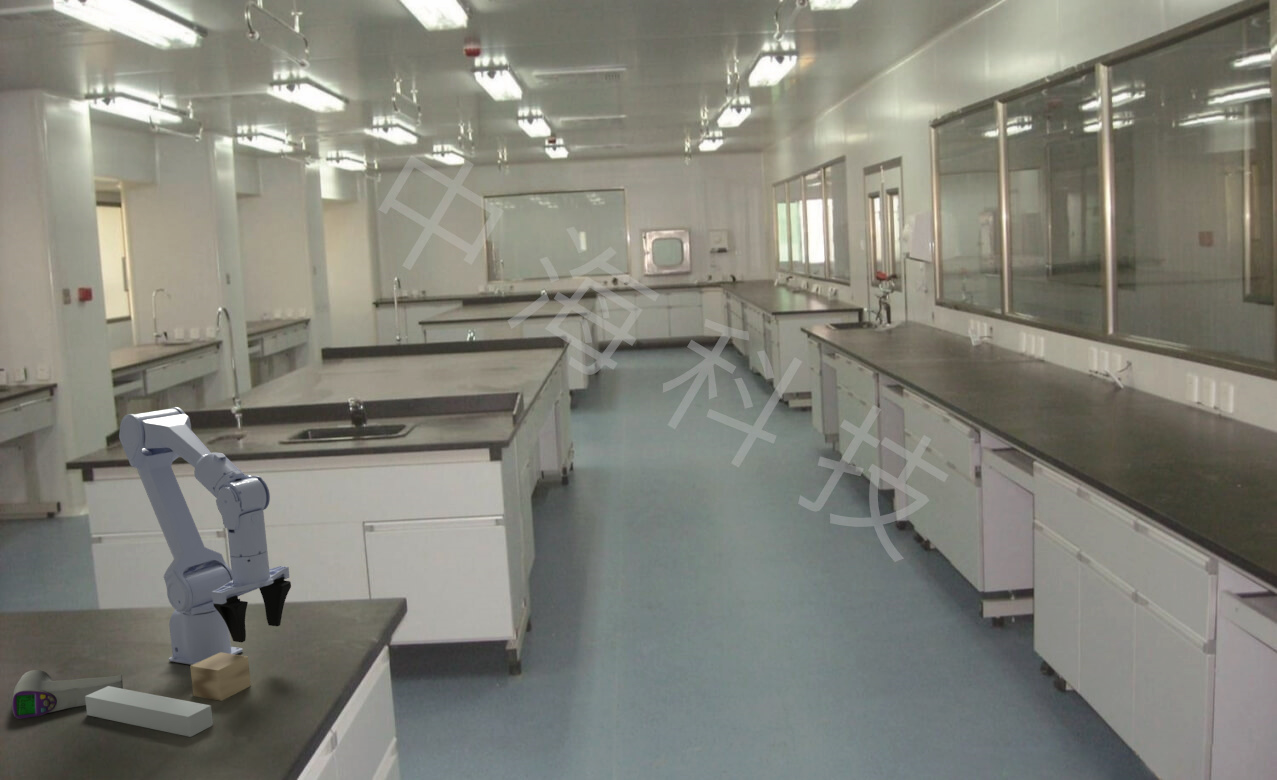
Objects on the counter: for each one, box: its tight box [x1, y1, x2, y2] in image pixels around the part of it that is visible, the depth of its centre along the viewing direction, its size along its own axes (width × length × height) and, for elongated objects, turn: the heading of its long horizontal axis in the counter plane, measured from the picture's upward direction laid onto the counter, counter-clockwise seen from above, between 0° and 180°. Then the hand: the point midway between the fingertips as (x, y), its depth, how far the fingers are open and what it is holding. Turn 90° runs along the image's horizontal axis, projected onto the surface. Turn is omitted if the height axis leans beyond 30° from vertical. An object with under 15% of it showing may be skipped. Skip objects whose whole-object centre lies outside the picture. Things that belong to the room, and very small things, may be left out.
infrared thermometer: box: [11, 669, 124, 720], centre depth 165 cm, size 5×12×15 cm
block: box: [189, 652, 252, 701], centre depth 164 cm, size 6×6×5 cm
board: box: [85, 686, 214, 738], centre depth 155 cm, size 22×4×3 cm, turn 64°
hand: (257, 633), depth 171 cm, fingers open, 7 cm apart
